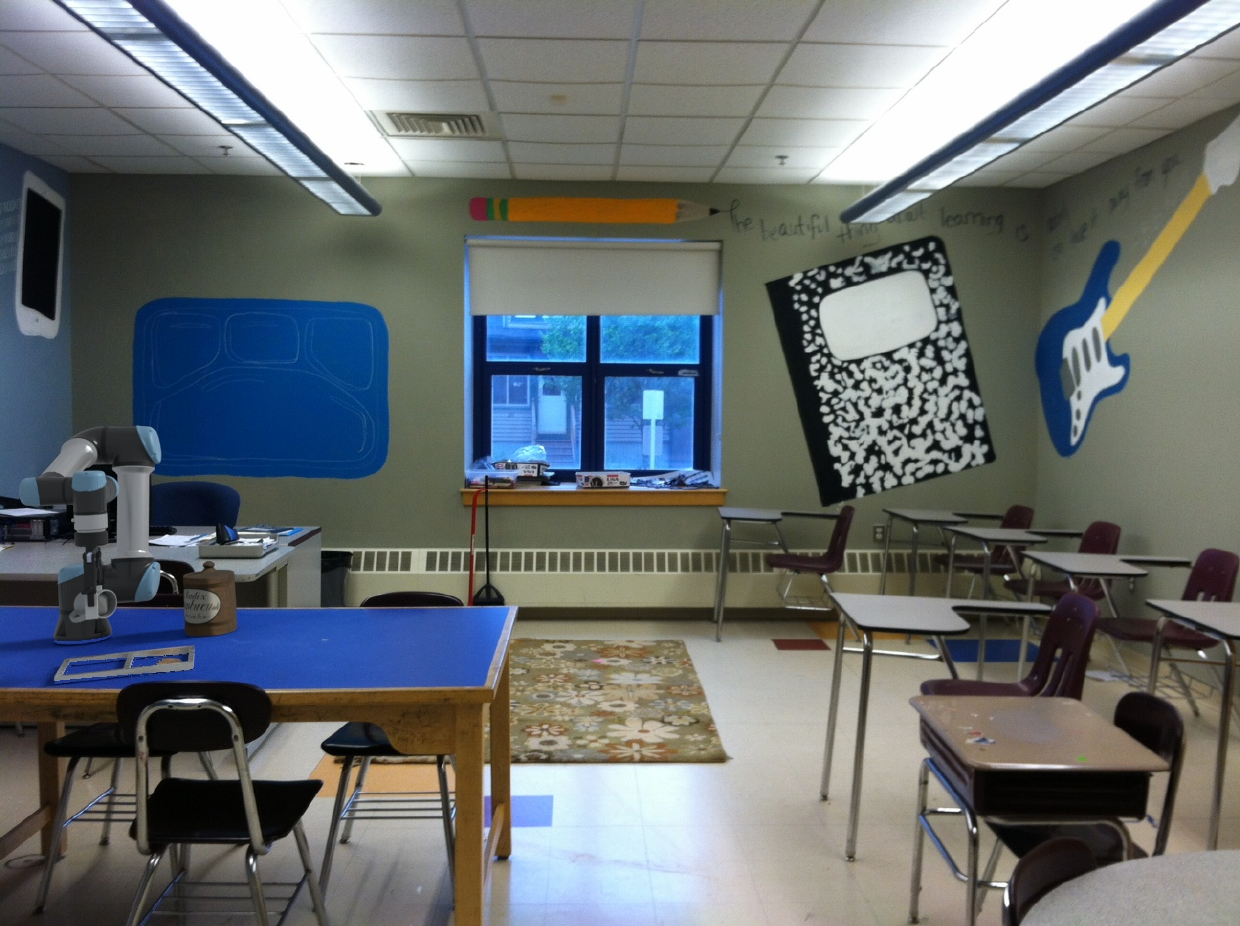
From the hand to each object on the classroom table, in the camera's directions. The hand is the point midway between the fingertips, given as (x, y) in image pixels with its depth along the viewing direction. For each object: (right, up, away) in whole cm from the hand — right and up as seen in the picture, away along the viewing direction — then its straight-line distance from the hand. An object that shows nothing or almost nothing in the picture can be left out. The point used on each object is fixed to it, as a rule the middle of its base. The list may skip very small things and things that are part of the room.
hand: (94, 614), depth 232 cm
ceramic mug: (0, -1, -1) cm, 1 cm away
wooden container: (+10, -13, +44) cm, 47 cm away
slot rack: (+7, -15, +4) cm, 17 cm away
